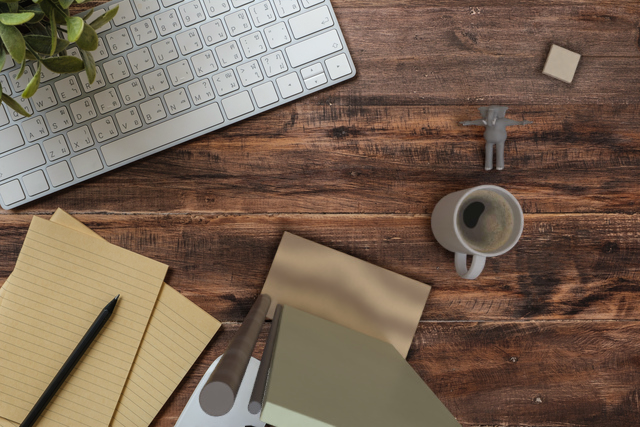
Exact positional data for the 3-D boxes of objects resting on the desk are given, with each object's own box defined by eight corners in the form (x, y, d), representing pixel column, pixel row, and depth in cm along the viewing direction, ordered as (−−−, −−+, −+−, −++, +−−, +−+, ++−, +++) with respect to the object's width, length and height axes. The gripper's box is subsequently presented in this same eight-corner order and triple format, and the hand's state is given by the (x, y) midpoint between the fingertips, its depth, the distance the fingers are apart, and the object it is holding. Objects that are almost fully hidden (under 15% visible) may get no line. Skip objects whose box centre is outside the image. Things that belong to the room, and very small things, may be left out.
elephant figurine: (452, 172, 69) (451, 108, 66) (467, 162, 73) (467, 102, 70) (525, 176, 63) (527, 107, 60) (537, 165, 67) (539, 100, 65)
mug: (461, 178, 69) (488, 169, 59) (507, 226, 69) (542, 225, 59) (408, 231, 68) (427, 231, 58) (454, 279, 68) (481, 287, 58)
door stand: (400, 365, 67) (552, 559, 27) (252, 310, 67) (186, 427, 27) (429, 285, 68) (618, 360, 28) (283, 230, 67) (263, 226, 27)
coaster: (569, 83, 70) (571, 82, 70) (541, 73, 70) (543, 71, 69) (578, 56, 70) (581, 54, 70) (551, 45, 70) (553, 43, 70)
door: (386, 360, 66) (507, 533, 28) (271, 318, 65) (236, 435, 28) (392, 344, 66) (521, 494, 28) (277, 301, 66) (251, 395, 28)
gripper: (200, 541, 50) (249, 402, 61) (367, 601, 50) (384, 452, 62) (214, 512, 42) (268, 360, 54) (410, 583, 43) (421, 418, 54)
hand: (336, 401), depth 56 cm, fingers closed
